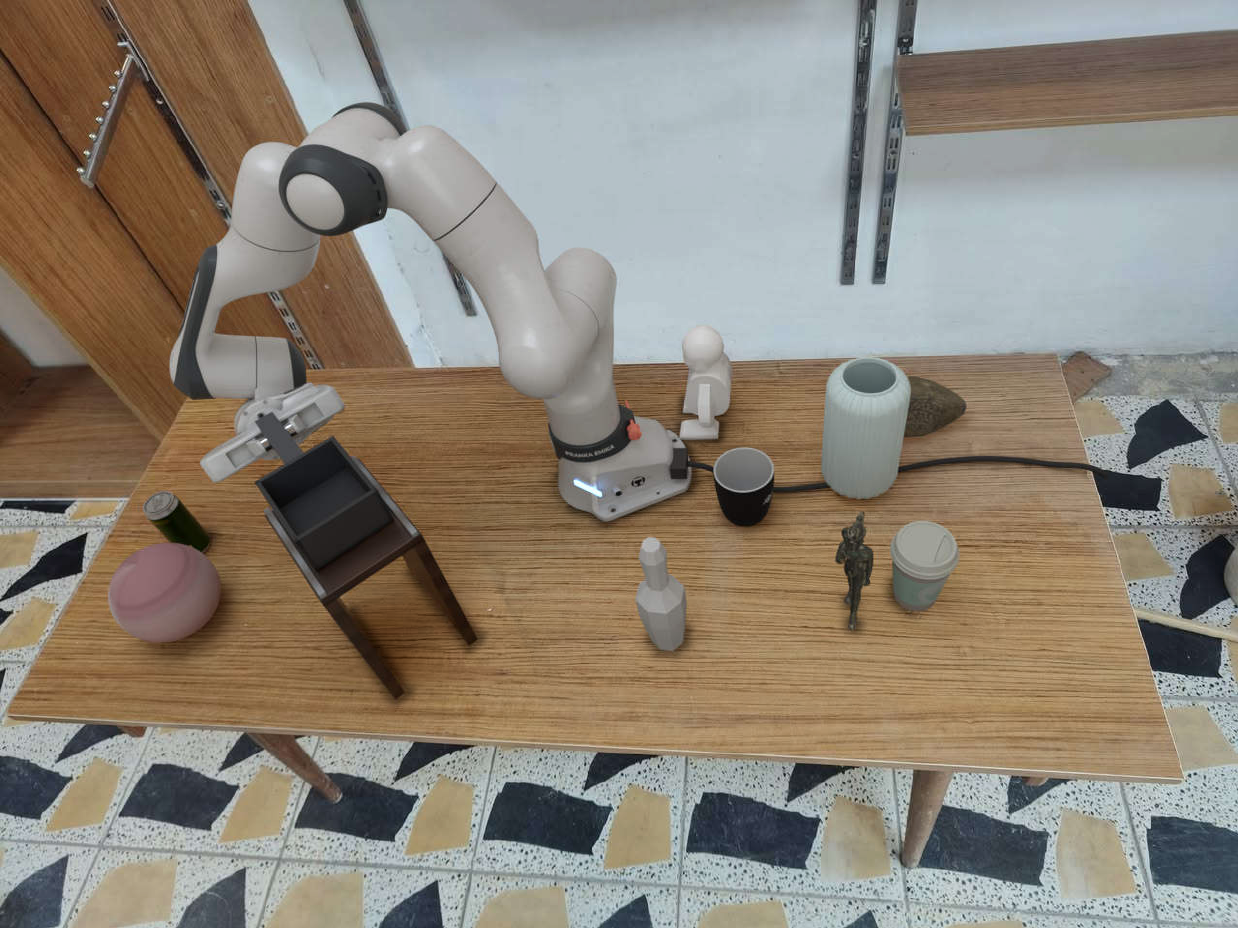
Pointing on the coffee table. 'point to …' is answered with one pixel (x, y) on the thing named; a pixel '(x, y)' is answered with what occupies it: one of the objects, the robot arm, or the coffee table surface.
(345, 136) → the robot arm
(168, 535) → the beer can
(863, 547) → the statue
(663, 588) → the faceted bottle
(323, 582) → the stand
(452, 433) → the coffee table surface
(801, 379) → the coffee table surface
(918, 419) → the stone
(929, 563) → the coffee cup
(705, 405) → the toy robot
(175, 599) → the pink rounded ball
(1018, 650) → the coffee table surface
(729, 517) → the mug
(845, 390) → the vase
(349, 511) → the basket
